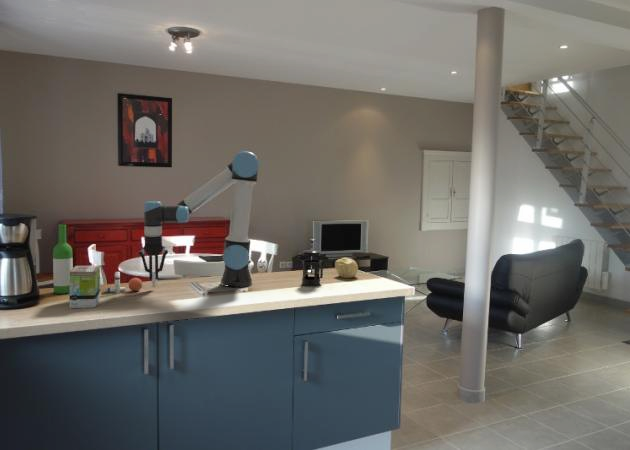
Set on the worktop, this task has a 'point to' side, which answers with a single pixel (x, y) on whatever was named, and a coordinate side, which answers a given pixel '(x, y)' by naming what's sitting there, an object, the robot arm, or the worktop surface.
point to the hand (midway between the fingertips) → (153, 286)
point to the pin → (117, 283)
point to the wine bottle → (62, 263)
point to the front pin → (114, 289)
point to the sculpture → (346, 267)
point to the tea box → (84, 286)
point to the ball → (135, 284)
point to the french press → (311, 279)
